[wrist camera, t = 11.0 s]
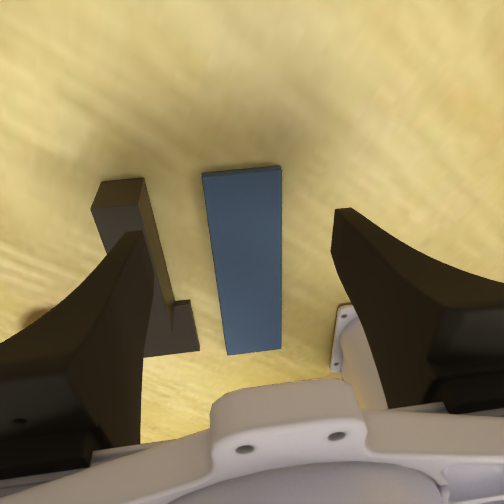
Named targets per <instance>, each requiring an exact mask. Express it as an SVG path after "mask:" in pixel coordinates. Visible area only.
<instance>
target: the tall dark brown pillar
mask: <svg viewBox="0 0 504 504" xmlns="http://www.w3.org/2000/svg"><path fill="white" fill-rule="evenodd" d="M90 210H91V212H92V215H93V218H94V220H95V223H96V226H97V229H98V231H99V234H100V237H101V239H102V242H103V245H104V247H105V250H106V253H107V254H108V253H109V252H110V250H111V249H112V248H113V247H114V245H115V244H116V243H117V242H118V240H119V239H120V238H121V237H122V235H123V234H124V233H125V232H128V231H137V230H142V231H143V234H144V238H145V241H146V245H147V248H148V252H149V255H150V259H151V262H152V266H153V269H154V295H153V301H152V307H151V313H150V319H149V324H148V330H147V336H146V341H145V348H144V356H143V358H146V357H154V356H162V355H170V354H178V353H186V352H194V351H200V345H199V340H198V336H197V331H196V326H195V322H194V317H193V312H192V308H191V303H190V300H187V301H178V302H175V300H174V296H173V292H172V288H171V284H170V280H169V276H168V272H167V268H166V264H165V260H164V256H163V252H162V248H161V244H160V240H159V236H158V232H157V228H156V224H155V220H154V216H153V212H152V208H151V204H150V200H149V196H148V192H147V188H146V184H145V180H144V178H137V179H126V180H116V181H105V182H101V184H100V187H99V189H98V192H97V194H96V197H95V199H94V201H93V204H92V206H91V209H90Z"/></svg>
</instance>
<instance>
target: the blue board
mask: <svg viewBox="0 0 504 504" xmlns="http://www.w3.org/2000/svg"><path fill="white" fill-rule="evenodd" d="M202 183H203V190H204V197H205V204H206V211H207V218H208V225H209V232H210V239H211V246H212V253H213V260H214V267H215V274H216V281H217V288H218V295H219V301H220V308H221V315H222V322H223V329H224V336H225V343H226V350H227V355H236V354H244V353H252V352H260V351H268V350H276V349H281V311H282V169H281V167H280V166H274V167H263V168H253V169H242V170H232V171H221V172H211V173H202Z"/></svg>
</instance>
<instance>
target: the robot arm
mask: <svg viewBox="0 0 504 504" xmlns="http://www.w3.org/2000/svg"><path fill="white" fill-rule="evenodd" d="M331 255H332V258H333V261H334V265H335V268H336V271H337V274H338V276H339V278H340V280H341V282H342V284H343V286H344V289H345V291H346V293H347V295H348V297H349V299H350V301H351V303H352V305H343V306H341V307H339V308H338V312H337V319H336V327H335V334H334V341H333V348H332V355H331V362H330V370H331V372H333V373H337V372H341V374H342V377H343V380H344V381H342V380H340V379H338V378H317V379H309V380H302V381H294V382H287V383H280V384H272V385H265V386H257V387H250V388H242V389H239V390H235V391H232V392H228V393H226V394H224V395H223V396H222V397H220V398H219V399H218V400H216V401H215V402H214V403H213V404H212V407H211V411H210V428H209V429H206V430H203V431H200V432H197V433H194V434H191V435H188V436H185V437H182V438H179V439H174V440H167V441H160V442H153V443H145V444H140V423H141V391H142V371H143V356H144V348H145V341H146V336H147V330H148V324H149V319H150V313H151V307H152V301H153V295H154V269H153V266H152V262H151V259H150V255H149V252H148V248H147V245H146V241H145V238H144V234H143V231H142V230H137V231H128V232H125V233H124V234H123V235H122V237H121V238H120V239H119V240H118V242H117V243H116V244H115V245H114V247H113V248H112V249H111V250H110V252H109V253H108V254H107V255H106V257H105V258H104V259H103V260H102V261H101V263H100V264H99V265H98V266H97V267H96V268H95V269H94V270H93V272H92V273H91V274H90V275H89V276H88V277H87V278H86V279H85V280H84V281H83V282H82V283H81V284H80V285H79V286H78V287H77V288H76V289H75V290H74V291H73V292H72V293H71V294H70V295H68V296H67V297H66V298H65V299H64V300H63V301H61V302H60V303H59V304H58V305H57V306H55V307H54V308H53V309H51V310H50V311H49V312H47V313H46V314H45V315H43V316H42V317H41V318H39V319H38V320H37V321H35V322H34V323H32V324H31V325H29V326H28V327H26V328H25V329H23V330H22V331H20V332H18V333H17V334H15V335H14V336H12V337H10V338H9V339H7V340H5V341H4V342H2V343H0V504H504V283H501V282H497V281H493V280H490V279H487V278H484V277H480V276H477V275H474V274H471V273H468V272H465V271H462V270H460V269H457V268H455V267H452V266H450V265H447V264H445V263H442V262H440V261H438V260H435V259H433V258H431V257H429V256H427V255H425V254H423V253H421V252H419V251H417V250H415V249H413V248H412V247H410V246H408V245H406V244H405V243H403V242H401V241H400V240H398V239H396V238H395V237H393V236H392V235H390V234H389V233H387V232H386V231H384V230H383V229H381V228H380V227H378V226H377V225H375V224H374V223H373V222H371V221H370V220H368V219H367V218H366V217H364V216H363V215H361V214H360V213H358V212H357V211H356V210H354V209H352V208H351V207H350V208H341V209H335V214H334V224H333V234H332V243H331ZM343 314H344V315H343Z"/></svg>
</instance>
